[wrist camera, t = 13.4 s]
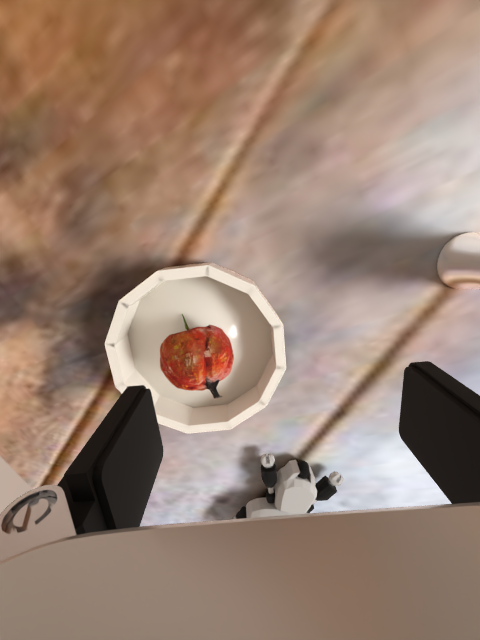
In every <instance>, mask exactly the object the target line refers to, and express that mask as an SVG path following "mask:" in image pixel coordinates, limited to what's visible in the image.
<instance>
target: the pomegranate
mask: <svg viewBox="0 0 480 640" xmlns="http://www.w3.org/2000/svg"><path fill="white" fill-rule="evenodd" d="M182 316H183V314H182ZM183 320H184V323H185V329H186V330H187V331H186V330H185V331H182V332H179V333H175V334H171V335H169V336H168V337H167V338H166V339H165V340H164V341H163V343H162V344H161V346H160V368H161V370H162V372H163V373H164V375H165V377H166V378H167V379H168V380H169V381H170V383H172V384H173V385H174V386H175V387H177V388H179V389H183V390H189V391H194V390H196V391H203V390H206V389H208V390H210V391H211V393H212V395H213V397H214V399H216V398H221V397H222V396H220V395H219V393H218V392H217V385H218V383H219V381H221V380H223V379H224V378H225V377H227V376H228V375H229V374H230V372H231V369H232V365H233V360H234V355H233V350H232V345H231V342H230V339H229V338H228V336H227V335H226V334H225V333H224V331H223V330H222V329H221V328H219V327H216V326H214V325H208V326H206V327H195V328H192V329H189V327H188V325H187V323H186V320H185V318H184V316H183Z"/></svg>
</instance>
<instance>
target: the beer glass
mask: <svg viewBox="0 0 480 640" xmlns="http://www.w3.org/2000/svg"><path fill="white" fill-rule="evenodd" d="M437 272H438V275H439V277H440V279H441V281H442V282H443V283H444V284H446V285H447V286H449V287H451V288H455V289H479V290H480V233H476V232H469V233H463V234H460V235H458V236H456V237H454V238H453V239H451V240H450V241H449V242H448V243H447V244H446V245H445V246H444V247H443V249H442V251H441V252H440V255H439V257H438V261H437Z"/></svg>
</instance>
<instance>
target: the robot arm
mask: <svg viewBox="0 0 480 640" xmlns="http://www.w3.org/2000/svg"><path fill="white" fill-rule="evenodd" d="M399 433H400V436H401V439H402V440H403V441H404V443H405V444H406V445H407V447H408V448H409V449H410V450H411V452H412V453H413V454H414V456H415V457H416V458H417V459H418V461H419V462H420V463H421V465H422V466H423V467H424V468H425V470H426V471H427V472H428V473H429V475H430V476H431V477H432V479H433V480H434V481H435V482H436V484H437V485H438V486H439V488H440V489H441V490H442V491H443V493H444V494H445V495H446V497H447V498H448V499H449V500H450V502H451V503H452V504H444V505H428V506H413V507H397V508H382V509H367V510H353V511H338V512H324V513H310V514H296V515H282V516H268V517H255V518H242V519H229V520H216V521H203V522H190V523H177V524H166V525H154V526H143V527H139V526H140V523H141V520H142V517H143V514H144V511H145V508H146V505H147V502H148V499H149V496H150V493H151V490H152V487H153V484H154V482H155V479H156V476H157V473H158V470H159V467H160V464H161V461H162V458H163V445H162V440H161V436H160V431H159V426H158V422H157V417H156V412H155V408H154V403H153V398H152V394H151V390H150V389H146V387H145V386H144V385H138V386H128V387H127V388H126V389H125V391H124V392H123V393H122V395H121V396H120V397H119V399H118V400H117V402H116V403H115V404H114V406H113V407H112V409H111V410H110V411H109V413H108V414H107V416H106V417H105V418H104V420H103V421H102V422H101V424H100V425H99V427H98V428H97V429H96V431H95V432H94V434H93V435H92V436H91V438H90V439H89V441H88V442H87V443H86V445H85V446H84V448H83V449H82V450H81V452H80V453H79V454H78V456H77V457H76V459H75V460H74V461H73V463H72V464H71V466H70V467H69V468H68V470H67V471H66V473H65V474H64V477H63V478H62V480H61V481H60V482H59V484H58V485H45V486H41V487H38V488H35V489H33V490H31V491H28V492H27V493H25V494H23V495H22V496H20V497H18V498H17V499H16V500H14V501H13V502H12V503H11V504H10V505H8V506H7V507H6V508H5V510H4V511H3V512H2V513H1V514H0V640H480V396H479V395H478V394H476V393H475V392H473V391H472V390H471V389H469V388H468V387H466V386H465V385H463V384H462V383H460V382H459V381H457V380H456V379H454V378H453V377H452V376H450V375H449V374H447V373H446V372H444V371H443V370H441V369H440V368H438V367H437V366H435V365H434V364H433V363H431V362H429V361H426V362H414V363H410V365H409V367H406V368H405V370H404V379H403V390H402V401H401V412H400V422H399Z"/></svg>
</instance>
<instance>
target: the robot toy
mask: <svg viewBox="0 0 480 640" xmlns="http://www.w3.org/2000/svg"><path fill="white" fill-rule="evenodd" d="M268 456H269V458H268V459H266V454H264V455H262V457H261V461H260V462H261V473H262V480H263V482H264V484H265V485H266V486H267V487H268V489H266V497H262V498H256V499H253V500H251V501H249V502H248V503H247V505H246V506H244V507H242V508H241V509H240V511H239V512H238V513H237V515H236V517H235V516H233V519H242V518H255V517H268V516H282V515H296V514H310V512H311V511H312V510H313V509H314V505H313V504H314V503H315V502H316V501H322V500H328V499H329V498H330V497H331V496H332V495H334V494H335V493H336V492H337V490H336V487H335V486H339V485H341V483H342V482H343V477H342V476H341V475H339V473H338V472H333V473H331V474H330V476H329V478H328V477H326V476H324V477H323V478H322V479H321V480H320V481H318V482H317V483H316V479H315V477H314V474H313V472H312V469H311V467H310V466H309V465H308V463H307V462H305V461H299V462H297V461H296V460H291V461H289V462H288V463H287V464H286V465H285V466H284V467H282V468H280V469H279V471H278V472H277V473H276V465H275V464H274V462H275V459H274V456H273V455H272V454H268ZM315 483H316V485H315Z"/></svg>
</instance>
